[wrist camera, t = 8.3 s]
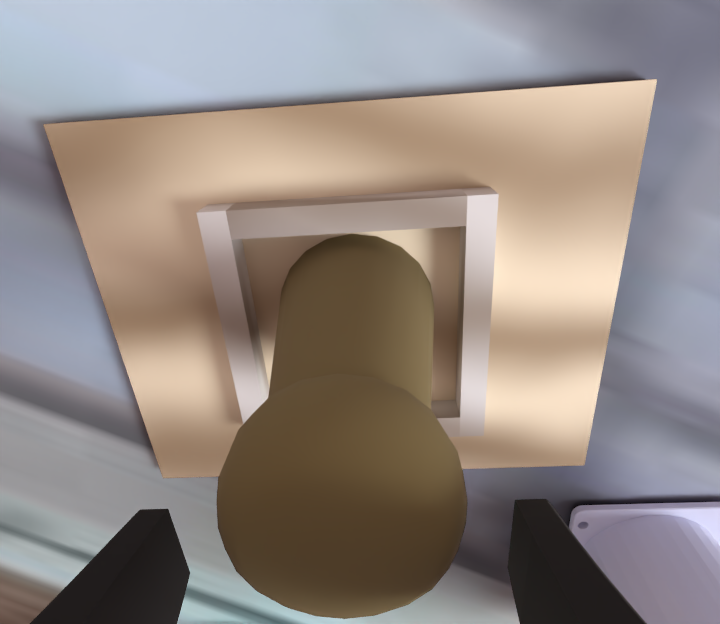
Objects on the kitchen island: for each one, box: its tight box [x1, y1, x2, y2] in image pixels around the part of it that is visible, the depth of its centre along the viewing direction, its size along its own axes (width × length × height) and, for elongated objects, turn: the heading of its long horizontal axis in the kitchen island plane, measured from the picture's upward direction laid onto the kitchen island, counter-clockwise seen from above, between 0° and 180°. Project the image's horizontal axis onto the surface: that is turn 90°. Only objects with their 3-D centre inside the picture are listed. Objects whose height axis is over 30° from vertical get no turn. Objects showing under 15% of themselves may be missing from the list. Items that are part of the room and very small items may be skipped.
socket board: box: [43, 79, 657, 478], centre depth 18 cm, size 16×20×2 cm
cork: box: [217, 234, 467, 619], centre depth 13 cm, size 6×6×11 cm
